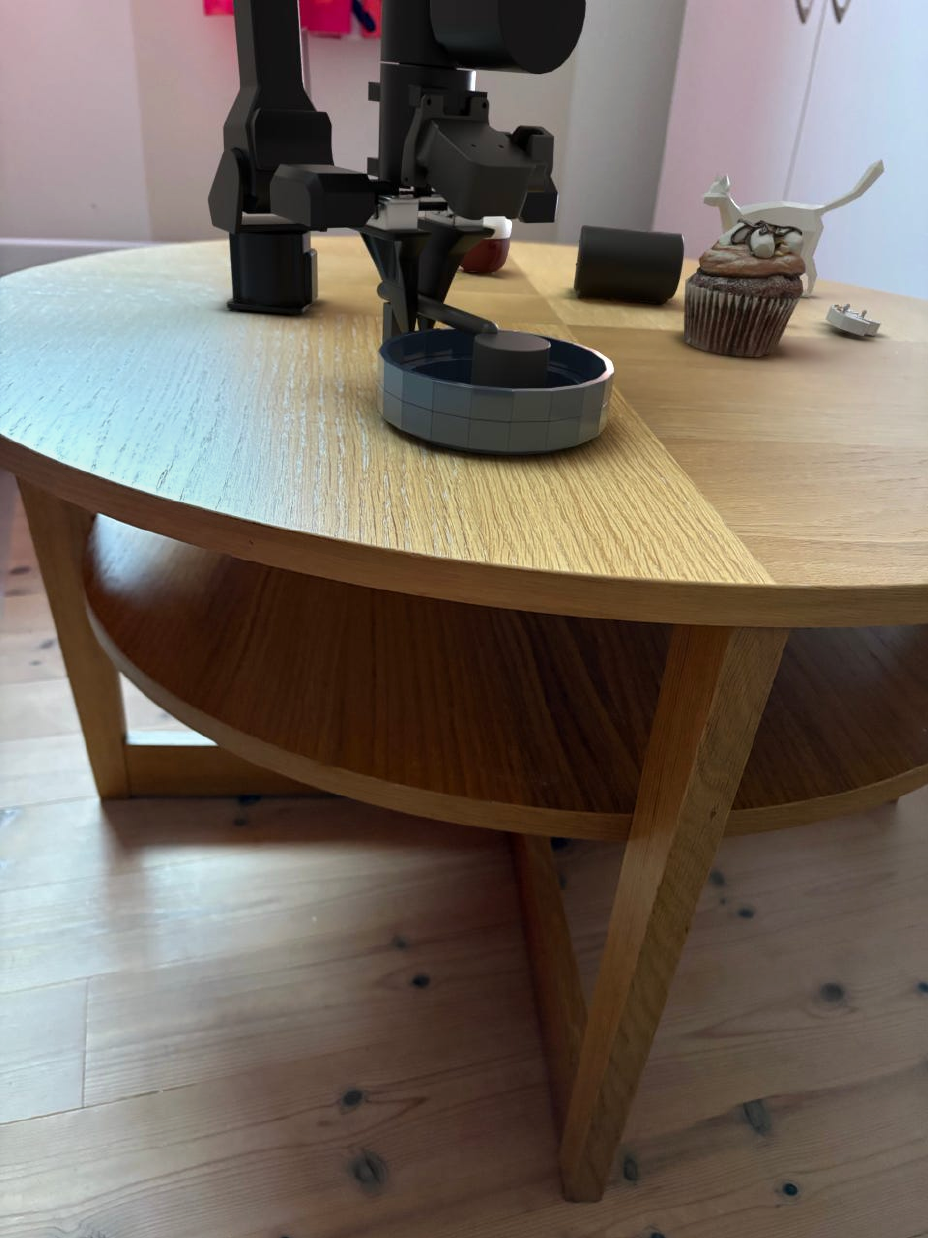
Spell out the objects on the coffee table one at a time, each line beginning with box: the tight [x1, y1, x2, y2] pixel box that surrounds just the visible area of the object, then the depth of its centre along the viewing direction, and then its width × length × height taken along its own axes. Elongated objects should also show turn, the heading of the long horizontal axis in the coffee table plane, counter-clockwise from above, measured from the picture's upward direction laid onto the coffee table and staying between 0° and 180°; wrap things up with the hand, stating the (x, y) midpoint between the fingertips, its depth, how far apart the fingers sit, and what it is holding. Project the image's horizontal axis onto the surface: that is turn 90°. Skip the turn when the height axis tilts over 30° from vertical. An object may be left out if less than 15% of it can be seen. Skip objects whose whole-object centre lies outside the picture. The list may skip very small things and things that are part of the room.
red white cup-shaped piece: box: [459, 216, 513, 274], centre depth 97 cm, size 10×6×12 cm, turn 1°
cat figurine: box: [700, 158, 885, 298], centre depth 97 cm, size 4×20×14 cm, turn 99°
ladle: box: [376, 281, 550, 389], centre depth 58 cm, size 17×5×4 cm, turn 36°
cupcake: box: [683, 219, 806, 358], centre depth 75 cm, size 10×10×10 cm
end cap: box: [573, 224, 685, 305], centre depth 89 cm, size 10×7×7 cm
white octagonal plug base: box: [790, 303, 882, 337], centre depth 84 cm, size 6×12×3 cm, turn 100°
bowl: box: [376, 326, 616, 456], centre depth 54 cm, size 14×14×4 cm
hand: (416, 333), depth 61 cm, fingers closed on ladle
